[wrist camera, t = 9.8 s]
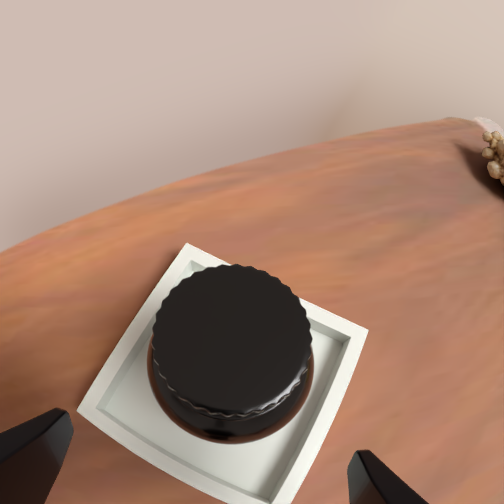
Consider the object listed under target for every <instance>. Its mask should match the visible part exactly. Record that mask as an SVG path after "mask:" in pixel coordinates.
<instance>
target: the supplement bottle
mask: <svg viewBox="0 0 504 504" xmlns="http://www.w3.org/2000/svg"><path fill="white" fill-rule="evenodd" d="M306 315H307V313H306V309H305V308H304V307H303V306H302V305H301V303H300V300H299V297H297V296H296V295H294V294H293V293H292V291H291V289H290V287H288V286H287V285H284V284H282V283H281V281H280V280H279V279H278V278H277V277H273V276H270V275H269V274H268V273H267V272H266V271H262V270H257V269H255V268H254V267H252V266H247V267H243V266H241V265H238V264H234V265H230V266H229V265H224V264H221V265H219V266H217V267H207V268H205V269H204V270H203V271H197V272H194V273H193V274H192V275H191V276H190V277H188V278H184V279H182V280H181V281H180V283H179V284H178V286H175V287H174V288H172V289H171V290H170V293H169V295H168V296H167V297H166V298H165V299H163V300H162V304H161V308H160V309H159V310H158V311H157V313H156V322H155V323H154V325H153V327H152V331H153V334H152V336H151V339H150V342H149V346H148V351H147V375H148V380H149V384H150V387H151V390H152V393H153V395H154V397H155V399H156V401H157V403H158V405H159V406H160V408H161V409H162V410H163V412H164V413H165V414H166V415H167V416H168V418H169V419H170V420H171V421H172V422H174V423H175V424H176V425H177V426H178V427H180V428H181V429H183V430H184V431H186V432H187V433H189V434H191V435H193V436H195V437H197V438H200V439H202V440H205V441H208V442H213V443H218V444H227V445H236V444H245V443H250V442H254V441H258V440H261V439H263V438H266V437H268V436H270V435H272V434H274V433H276V432H277V431H279V430H280V429H282V428H283V427H284V426H286V425H287V424H288V423H289V422H290V421H291V420H292V419H293V418H294V417H295V416H296V415H297V413H298V412H299V411H300V410H301V408H302V406H303V405H304V403H305V401H306V399H307V397H308V395H309V392H310V390H311V386H312V382H313V377H314V354H313V348H312V345H311V343H312V340H313V338H312V335H311V333H310V328H311V324H310V322H309V320H308V319H307V317H306Z"/></svg>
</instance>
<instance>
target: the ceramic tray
mask: <svg viewBox="0 0 504 504" xmlns="http://www.w3.org/2000/svg"><path fill="white" fill-rule="evenodd" d="M221 264H224V265H229V266H230V264H228V263H226V262H224V261H222V260H220V259H218V258H216V257H214V256H212V255H210V254H208V253H206V252H204V251H202V250H200V249H198V248H196V247H194V246H192V245H190V244H188V243H186V244H185V246H184V247H183V249H182V250H181V251H180V253H179V254H178V256H177V257H176V258H175V260H174V261H173V263H172V264H171V265H170V267H169V268H168V270H167V271H166V273H165V274H164V275H163V277H162V278H161V280H160V281H159V283H158V284H157V286H156V287H155V288H154V290H153V291H152V293H151V294H150V296H149V297H148V299H147V300H146V302H145V303H144V305H143V306H142V308H141V309H140V310H139V312H138V313H137V315H136V316H135V318H134V319H133V321H132V322H131V324H130V326H129V327H128V329H127V330H126V332H125V333H124V335H123V336H122V338H121V339H120V341H119V342H118V344H117V345H116V347H115V349H114V350H113V352H112V353H111V355H110V356H109V358H108V360H107V361H106V363H105V364H104V366H103V368H102V369H101V371H100V372H99V374H98V376H97V377H96V379H95V381H94V382H93V384H92V385H91V387H90V389H89V390H88V392H87V394H86V395H85V397H84V399H83V400H82V402H81V404H80V405H79V407H78V409H77V412H79V413H80V414H81V415H82V416H83V417H85V418H86V419H87V420H89V421H90V422H91V423H92V424H94V425H95V426H96V427H98V428H99V429H100V430H102V431H103V432H104V433H106V434H107V435H109V436H110V437H111V438H113V439H114V440H116V441H117V442H118V443H120V444H121V445H123V446H124V447H126V448H127V449H129V450H130V451H132V452H133V453H135V454H136V455H138V456H140V457H141V458H143V459H144V460H146V461H148V462H149V463H151V464H152V465H154V466H156V467H157V468H159V469H161V470H163V471H164V472H166V473H168V474H170V475H171V476H173V477H175V478H177V479H179V480H181V481H182V482H184V483H186V484H188V485H190V486H192V487H194V488H196V489H198V490H200V491H202V492H204V493H206V494H208V495H210V496H212V497H215V498H217V499H219V500H221V501H224V502H226V503H228V504H290V503H291V502H292V500H293V498H294V496H295V495H296V493H297V491H298V489H299V487H300V486H301V484H302V482H303V480H304V478H305V476H306V475H307V473H308V471H309V469H310V467H311V465H312V463H313V461H314V459H315V457H316V455H317V453H318V451H319V449H320V447H321V445H322V443H323V441H324V439H325V437H326V435H327V433H328V430H329V428H330V426H331V424H332V422H333V419H334V417H335V415H336V413H337V410H338V408H339V406H340V403H341V401H342V399H343V396H344V394H345V392H346V389H347V387H348V384H349V382H350V379H351V377H352V374H353V372H354V369H355V366H356V364H357V361H358V358H359V356H360V353H361V350H362V347H363V345H364V342H365V339H366V336H367V333H368V330H367V329H365V328H363V327H361V326H359V325H357V324H354V323H352V322H350V321H348V320H346V319H344V318H341V317H339V316H337V315H335V314H333V313H331V312H329V311H326V310H324V309H322V308H320V307H318V306H316V305H314V304H312V303H309V302H307V301H305V300H303V299H301V298H299V300H300V303H301V305H302V306H303V307H304V308H305V309H306V313H307V315H306V317H307V319H308V320H309V322H310V324H311V328H310V333H311V335H312V338H313V340H312V343H311V345H312V348H313V354H314V377H313V382H312V386H311V390H310V392H309V395H308V397H307V399H306V401H305V403H304V405H303V406H302V408H301V410H300V411H299V412H298V413H297V415H296V416H295V417H294V418H293V419H292V420H291V421H290V422H289V423H288V424H287V425H286V426H284V427H283V428H282V429H280V430H279V431H277V432H276V433H274V434H272V435H270V436H268V437H266V438H263V439H261V440H258V441H254V442H250V443H245V444H236V445H227V444H218V443H213V442H208V441H205V440H202V439H200V438H197V437H195V436H193V435H191V434H189V433H187V432H186V431H184V430H183V429H181V428H180V427H178V426H177V425H176V424H175V423H174V422H172V421H171V420H170V419H169V418H168V416H167V415H166V414H165V413H164V412H163V410H162V409H161V408H160V406H159V405H158V403H157V401H156V399H155V397H154V395H153V393H152V390H151V387H150V384H149V380H148V375H147V351H148V346H149V342H150V339H151V336H152V334H153V331H152V327H153V325H154V323H155V322H156V313H157V311H158V310H159V309H160V308H161V304H162V300H163V299H165V298H166V297H167V296H168V295H169V293H170V290H171V289H172V288H174V287H175V286H178V284H179V283H180V281H181V280H182V279H184V278H188V277H190V276H191V275H192V274H193V273H194V272H197V271H203V270H204V269H205V268H207V267H217V266H219V265H221Z"/></svg>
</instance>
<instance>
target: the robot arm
mask: <svg viewBox="0 0 504 504" xmlns="http://www.w3.org/2000/svg"><path fill="white" fill-rule="evenodd" d="M72 436H73V425H72V422H71V419H70V416H69V413H68V412H67V411H66V410H63V409H60V408H54V409H52V410H50V411H48V412H46V413H44V414H41V415H39V416H37V417H35V418H33V419H31V420H29V421H26V422H24V423H22V424H20V425H18V426H15V427H13V428H11V429H9V430H7V431H4V432H2V433H0V504H44V503H45V501H46V499H47V497H48V494H49V492H50V490H51V488H52V486H53V484H54V482H55V480H56V478H57V476H58V474H59V471H60V469H61V467H62V464H63V461H64V458H65V455H66V452H67V450H68V447H69V444H70V441H71V439H72ZM347 475H348V488H349V502H350V504H429V503H428V502H426V501H425V500H424V499H423V498H422V497H421V496H419V495H418V494H417V493H416V492H415V491H414V490H413V489H412V488H410V487H409V486H408V485H407V484H406V483H405V482H404V481H403V480H401V479H400V478H399V477H398V476H397V475H396V474H395V473H394V472H393V471H392V470H390V469H389V468H388V467H387V466H386V465H385V464H384V463H383V462H382V461H381V460H380V459H379V458H377V457H376V456H375V455H374V454H373V453H372V452H371V451H370V450H357V451H356V452H355V453H354V455H353V457H352V459H351V461H350V463H349V465H348V469H347Z"/></svg>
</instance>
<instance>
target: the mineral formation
mask: <svg viewBox="0 0 504 504" xmlns="http://www.w3.org/2000/svg"><path fill="white" fill-rule="evenodd" d="M482 136H483V139H484V141H486V142H489V144H490V147H487V148H484V149H483V152H482V156H483V157H485V158H486V159H492V160H493V161H491V162H489V163H488V165H487V169H488V171H489V174H490V176H491V177H493V178H495V179H500V180H501V183H502V185H503V186H504V139H503V137H502V136H501V134H500V133H499V132H497V131H494V132H492V133H490V132H487V131H486V132H485V133H484V134H483V135H482Z"/></svg>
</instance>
